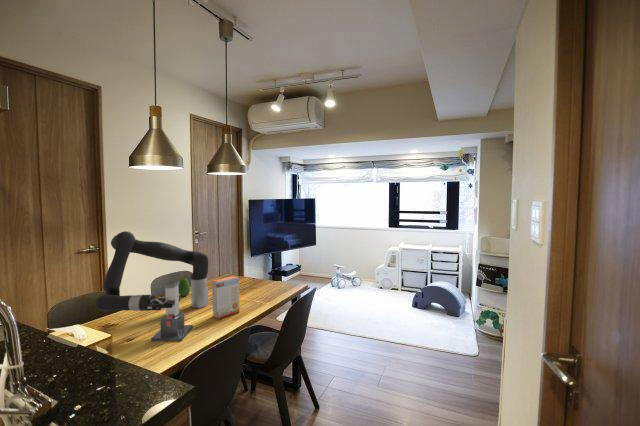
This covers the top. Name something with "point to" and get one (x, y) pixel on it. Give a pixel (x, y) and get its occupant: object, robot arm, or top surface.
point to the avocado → (184, 287)
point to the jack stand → (172, 328)
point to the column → (172, 297)
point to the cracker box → (225, 296)
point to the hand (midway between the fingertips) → (176, 302)
